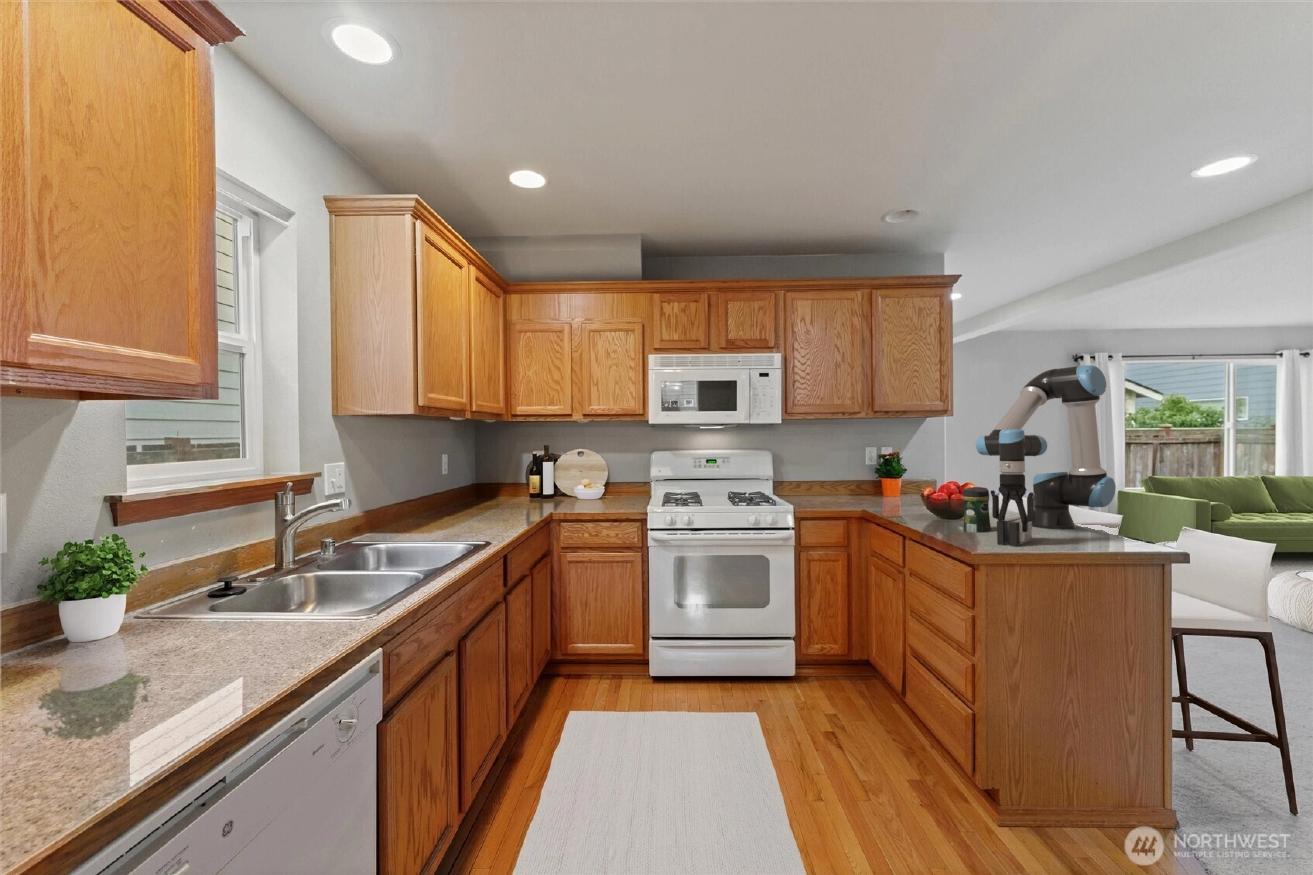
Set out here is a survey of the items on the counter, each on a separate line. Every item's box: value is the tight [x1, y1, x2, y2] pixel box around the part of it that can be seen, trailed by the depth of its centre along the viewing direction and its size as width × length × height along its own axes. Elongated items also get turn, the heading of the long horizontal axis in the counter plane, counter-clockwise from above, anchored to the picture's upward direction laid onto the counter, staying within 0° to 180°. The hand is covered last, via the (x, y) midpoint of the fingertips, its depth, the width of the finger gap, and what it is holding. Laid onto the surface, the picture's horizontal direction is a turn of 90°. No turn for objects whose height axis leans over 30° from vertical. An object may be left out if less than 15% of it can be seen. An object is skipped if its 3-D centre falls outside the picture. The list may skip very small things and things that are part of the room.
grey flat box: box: [1009, 519, 1033, 547], centre depth 196 cm, size 18×3×9 cm, turn 129°
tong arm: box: [996, 516, 1021, 546], centre depth 198 cm, size 16×2×8 cm, turn 125°
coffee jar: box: [962, 486, 992, 534], centre depth 222 cm, size 10×8×19 cm
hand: (1013, 540), depth 195 cm, fingers open, 5 cm apart
